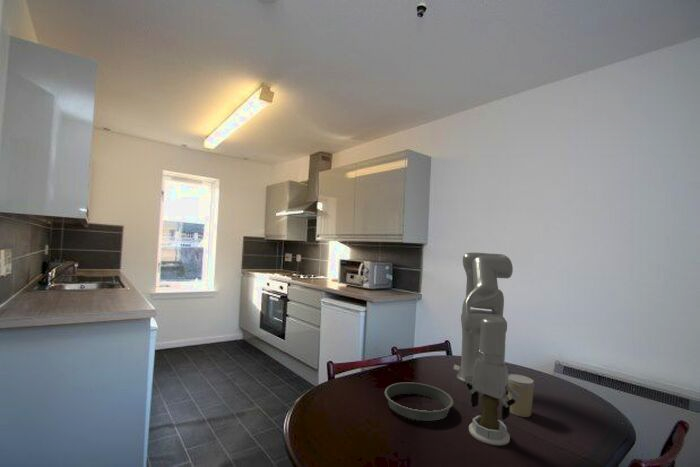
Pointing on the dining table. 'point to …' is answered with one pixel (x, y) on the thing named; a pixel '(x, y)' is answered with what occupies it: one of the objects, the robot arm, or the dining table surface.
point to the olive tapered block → (489, 412)
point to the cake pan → (421, 390)
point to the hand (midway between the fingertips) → (489, 411)
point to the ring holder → (489, 433)
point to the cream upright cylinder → (521, 394)
